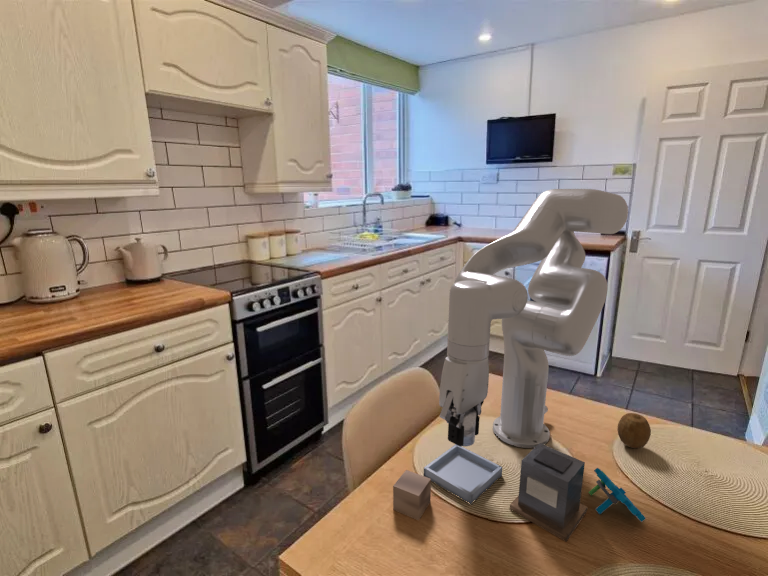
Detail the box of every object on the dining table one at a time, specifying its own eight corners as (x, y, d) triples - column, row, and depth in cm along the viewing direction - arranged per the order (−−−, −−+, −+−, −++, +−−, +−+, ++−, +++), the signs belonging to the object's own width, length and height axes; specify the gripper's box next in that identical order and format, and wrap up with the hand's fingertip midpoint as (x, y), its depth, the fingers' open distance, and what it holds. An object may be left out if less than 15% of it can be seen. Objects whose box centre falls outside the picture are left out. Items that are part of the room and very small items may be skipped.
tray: (456, 451, 90) (456, 443, 90) (501, 475, 83) (502, 466, 82) (423, 476, 83) (423, 467, 82) (470, 505, 75) (471, 495, 75)
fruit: (652, 448, 91) (658, 415, 89) (640, 459, 88) (645, 425, 86) (623, 435, 96) (627, 403, 94) (610, 445, 92) (614, 412, 90)
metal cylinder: (460, 430, 84) (461, 403, 82) (479, 439, 81) (480, 411, 79) (446, 439, 81) (448, 411, 79) (466, 449, 78) (467, 420, 76)
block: (406, 492, 79) (406, 469, 77) (430, 502, 76) (430, 478, 75) (393, 510, 74) (393, 485, 73) (418, 520, 72) (418, 496, 71)
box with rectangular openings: (532, 484, 80) (537, 436, 78) (586, 511, 74) (593, 460, 71) (509, 509, 74) (513, 458, 72) (566, 541, 67) (572, 487, 65)
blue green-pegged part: (660, 529, 68) (617, 486, 67) (632, 552, 68) (589, 509, 68) (625, 489, 79) (588, 452, 78) (601, 509, 79) (565, 473, 79)
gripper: (475, 333, 85) (471, 414, 89) (422, 355, 73) (420, 447, 77) (509, 342, 80) (503, 428, 84) (458, 368, 68) (453, 466, 72)
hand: (463, 436), depth 80 cm, fingers closed on metal cylinder, 4 cm apart
